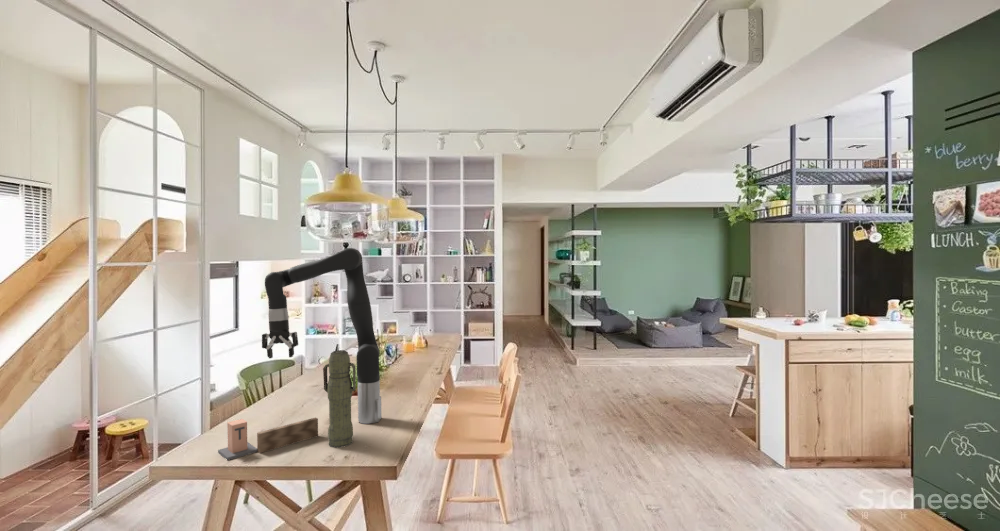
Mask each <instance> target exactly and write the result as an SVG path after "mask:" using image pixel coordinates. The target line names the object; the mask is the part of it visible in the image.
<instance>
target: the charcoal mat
mask: <svg viewBox="0 0 1000 531" xmlns="http://www.w3.org/2000/svg"><path fill="white" fill-rule="evenodd" d="M247 448H248V449H246V450H243V451H239V452H236V453H231V452H230V451H229V450H228V446H226V447H224V448H220V449H218V450H217V451H218V452H217V453H218V454H219V455H220V456H222V458H224V459H225V458H226V459H227V460H226V459H225V460H226V461H230V460H229V459H231V460H234V459H237V457H238V458H240V456H241V457H244V455H245V456H248V455H252V454H255V453H259V452H258V449H257V447H255V446H254V445H253V444H251V443H250V442H248V441H247ZM233 458H234V459H233Z"/></svg>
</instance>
